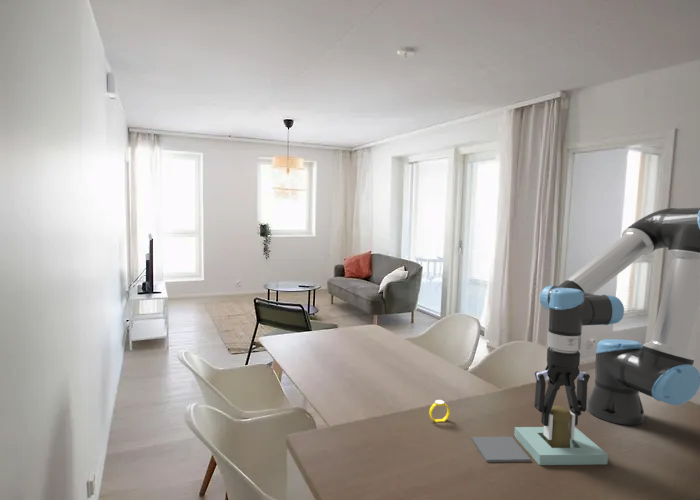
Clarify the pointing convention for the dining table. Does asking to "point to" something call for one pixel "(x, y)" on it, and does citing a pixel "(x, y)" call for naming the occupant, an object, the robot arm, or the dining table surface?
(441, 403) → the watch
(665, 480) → the dining table surface
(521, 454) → the rubber mat
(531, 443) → the socket board
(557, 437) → the cork
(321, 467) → the dining table surface
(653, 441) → the dining table surface
